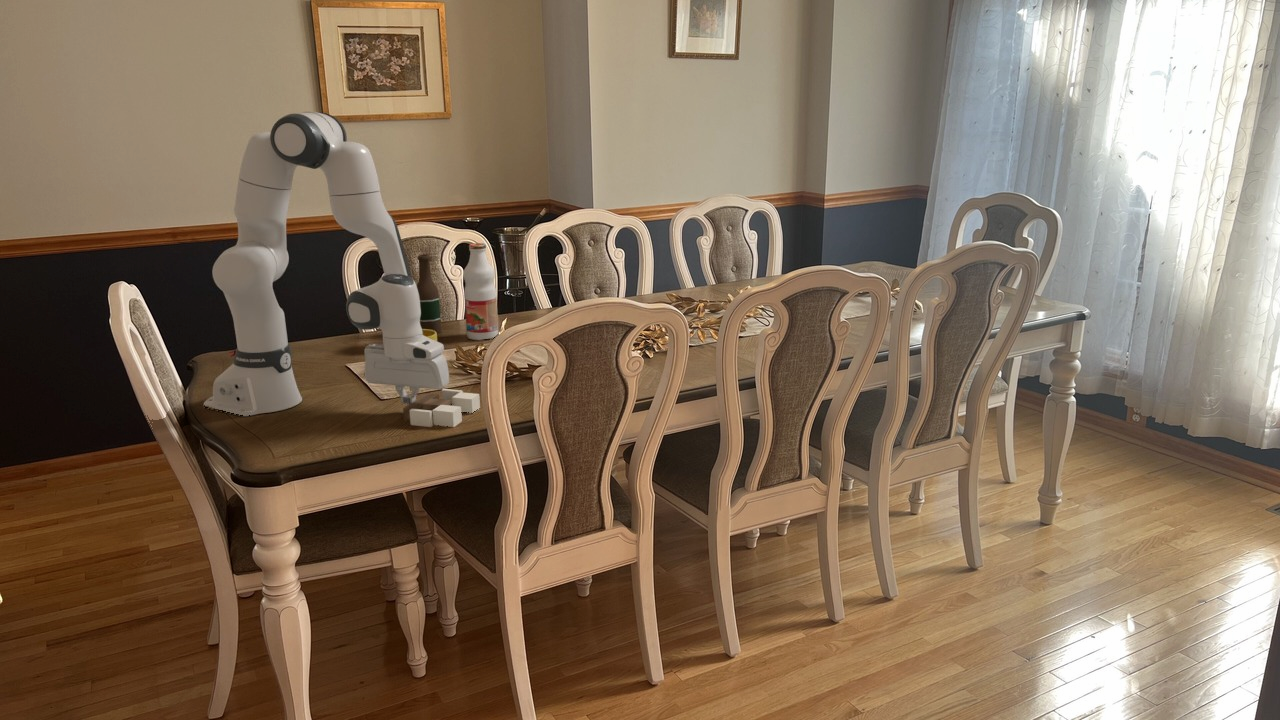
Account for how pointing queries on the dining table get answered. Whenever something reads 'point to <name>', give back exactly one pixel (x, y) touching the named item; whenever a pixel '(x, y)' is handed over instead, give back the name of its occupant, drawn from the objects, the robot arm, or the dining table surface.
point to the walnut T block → (425, 404)
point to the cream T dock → (447, 410)
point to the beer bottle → (428, 297)
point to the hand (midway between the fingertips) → (408, 403)
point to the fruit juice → (480, 295)
